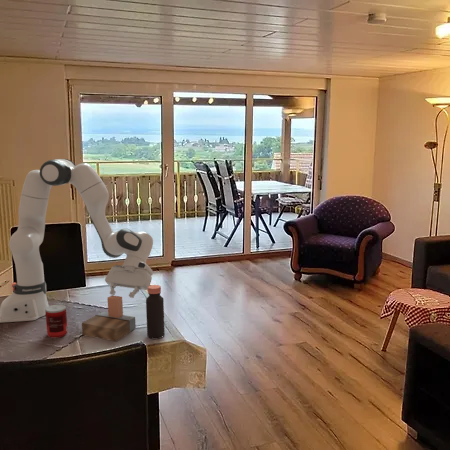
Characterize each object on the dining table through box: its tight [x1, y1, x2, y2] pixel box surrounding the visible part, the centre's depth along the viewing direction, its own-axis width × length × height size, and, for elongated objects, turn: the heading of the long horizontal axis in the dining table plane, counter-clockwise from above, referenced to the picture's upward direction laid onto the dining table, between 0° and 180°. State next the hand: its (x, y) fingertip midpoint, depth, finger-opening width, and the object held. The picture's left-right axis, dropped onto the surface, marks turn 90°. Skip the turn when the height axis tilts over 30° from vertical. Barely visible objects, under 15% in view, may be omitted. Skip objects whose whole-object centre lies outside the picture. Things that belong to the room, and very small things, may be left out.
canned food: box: [45, 304, 68, 339], centre depth 189 cm, size 8×8×11 cm
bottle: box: [145, 284, 166, 339], centre depth 187 cm, size 7×7×20 cm
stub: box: [96, 295, 137, 333], centre depth 195 cm, size 16×4×13 cm, turn 67°
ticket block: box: [81, 314, 131, 342], centre depth 190 cm, size 16×9×5 cm, turn 67°
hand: (121, 295), depth 198 cm, fingers open, 8 cm apart
